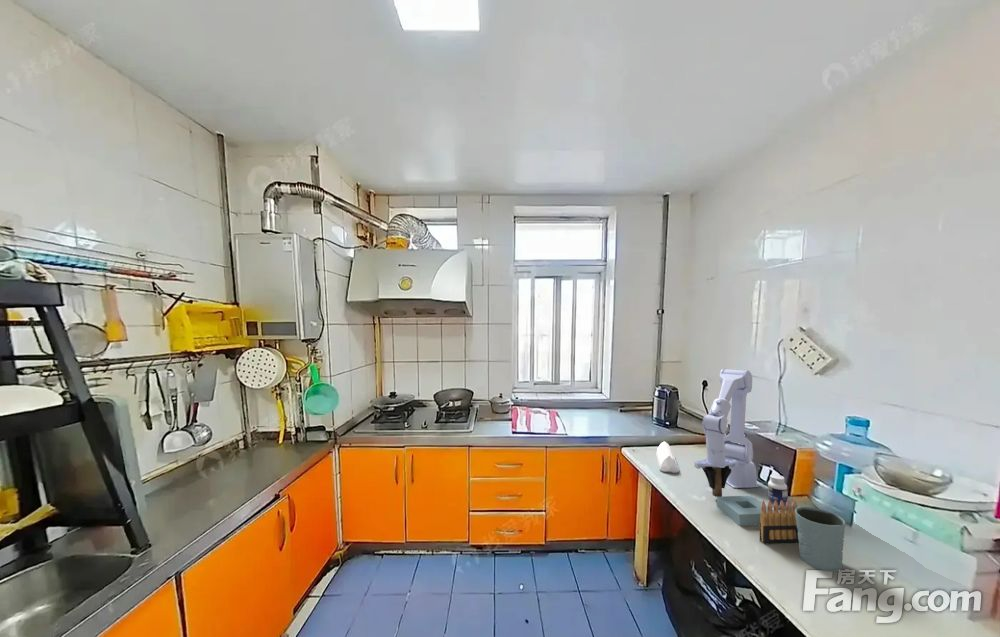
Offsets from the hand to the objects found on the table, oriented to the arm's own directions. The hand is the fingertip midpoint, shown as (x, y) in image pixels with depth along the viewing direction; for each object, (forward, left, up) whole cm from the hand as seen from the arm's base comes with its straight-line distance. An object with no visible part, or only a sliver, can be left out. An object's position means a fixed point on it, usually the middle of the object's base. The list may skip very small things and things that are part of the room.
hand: (716, 487), depth 135 cm
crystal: (+2, -35, -5) cm, 35 cm away
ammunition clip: (-3, +26, -5) cm, 27 cm away
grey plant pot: (-7, +35, -5) cm, 36 cm away
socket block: (-3, +11, -4) cm, 12 cm away
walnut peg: (0, 0, -3) cm, 3 cm away
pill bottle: (-18, +5, -5) cm, 19 cm away
